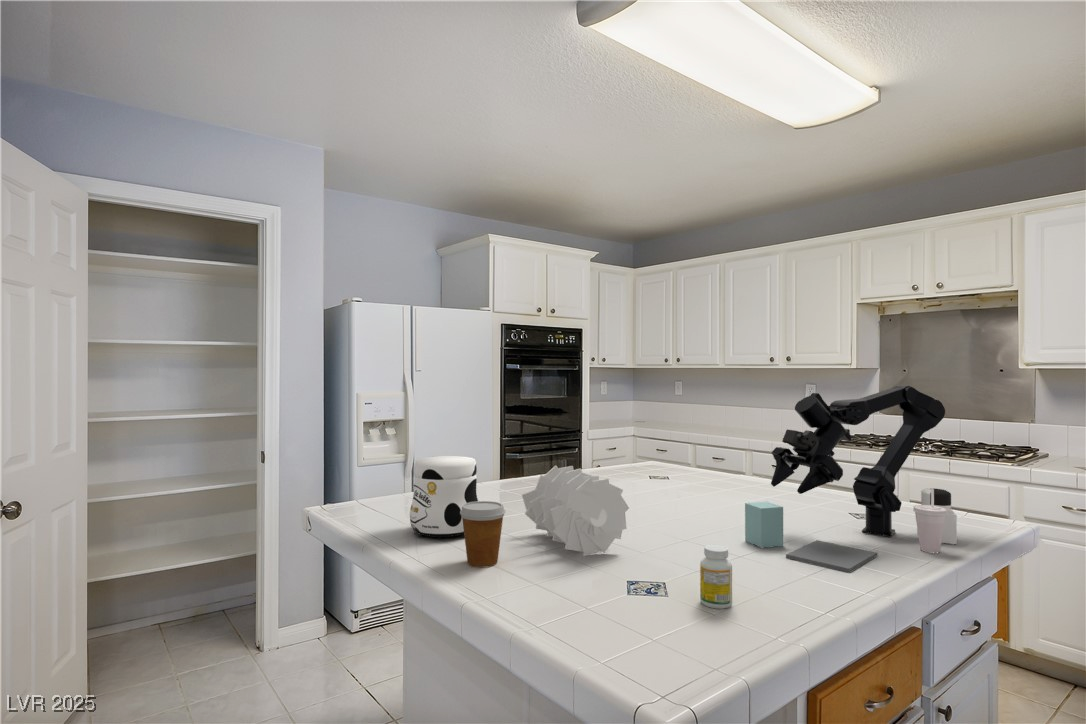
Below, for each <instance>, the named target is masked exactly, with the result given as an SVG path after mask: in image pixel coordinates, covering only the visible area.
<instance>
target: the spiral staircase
mask: <svg viewBox="0 0 1086 724" xmlns="http://www.w3.org/2000/svg"><path fill="white" fill-rule="evenodd" d="M609 479H610V478H604V479H600V476H599V475H591V474H588V473H584V472H583V471H582V468H577V469H574V466H573V465H569V466H564V467H558V466H557V465H554V466H553V467H552V468H551V469H550V470H549V471H548V472H546V474H544V475H542V474H540V475H539V478H538V481H537V483H536V486H535V488H534V489H532V490H529V491H527V492H524V493H522V494H521V497H522V499H523V500H522V501H523V504H524V506H525V510H526V511H525V512H524V515H525V516H527V517H528V518H529V519H530V520H531V521H532V522H533V523H534V524H535V529H536V530H541V531H547V534H546V536H547V537H551V538H552V539H551V540H552V541H554V542H559V543H562V544H565V546H564V549H565V550H570V551H575V552H582V554H583V557H587V556H589V555H591V554H593V553H596V552H597V551H602V552H603V553H606V552H607V551H608V549H609V547H610V546H611V545H612V543H613V542H614V541H615V540H616V539H617V540H621V539H622V533H623V530H627V527H628V526H627V521H626V520H627V518H626V517H627V516H626V512H627V511H628V510H630V507H629V506H628V504H627V502H626V500H625V499H624V497H623V496H622V494H623V492H624V489H622V488H620V487H619V486H616V485H614V484H611V483H610V481H609Z"/></svg>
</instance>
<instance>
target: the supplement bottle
mask: <svg viewBox="0 0 1086 724" xmlns="http://www.w3.org/2000/svg"><path fill="white" fill-rule="evenodd" d="M703 551H704V552H703V553H704V556H705V557H703V558H702V559H701V560H700V563H699V566H700V568H699V569H700V570H699V571H700V578H699V580H700V583H699V585H700V589H699V590H700V594H699V595H700V601H701V604H702V605H704V606H706V607H709V608H712V609H719V610H721V609H722V610H723V609H724V610H725V609H728V608H730V607H731V606H733V605H732V604H733V564H732V562H731V561H730V559H728V557H729V549H728V547H726V546H723V545H720V544H708V545H707V544H706V545H704V549H703Z"/></svg>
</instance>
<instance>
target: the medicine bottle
mask: <svg viewBox="0 0 1086 724" xmlns="http://www.w3.org/2000/svg"><path fill="white" fill-rule="evenodd" d="M931 489H934V506H937V507H942V508H945V509H946V510H947V511H946V513H947V514H946V515H945V519H944V526H943V533H942V541H941V544H944V543H950V544H949V545H954V544H956V545H957V542H958V539H957V538H958V536H957V535H958V531H957V529H958V528H957V526H958V525H957V524H958V523H957V522H958V520H957V519H958V518H957V514H956V513H955V511H953V510H952V494H951V492H950V491H948V490H947V489H946V490H945V489H943V488H932V487H931V488H924V489H922V490H921V491H920V492H921V494H920V496H921V497H920V498H921V501H920V503H921V504H920V505H931ZM916 534H917V535H918V529H917V528H916Z"/></svg>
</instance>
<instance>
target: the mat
mask: <svg viewBox="0 0 1086 724" xmlns="http://www.w3.org/2000/svg"><path fill="white" fill-rule="evenodd" d="M876 557H878V552H877V551H872V550H867V549H862V548H859V547H853V546H847V545H844V544H838V543H832V542H829V541H823V540H819V539H816V540H814V541H812V542H809V543H808V544H806V545H803V546H801V547H799V548H797V549H794V550H792V551H790V552H788V553H786V554H785V558H786V559H789V558H790V559H789V560H793V559H794V561H797V560H799V561H798V562H801V561H802V562H801V563H806V562H807V563H806V564H810V563H811V564H810V565H814V564H815V566H818V565H819V567H824V568H828V569H831V570H837V571H839V572H844V573H848V572H849V573H851V572H853V571H855V570H857V569H858V568H861V567H862V566H864V565H866V564H867V563H868V562H870V561H872V560H873V559H875V558H876Z"/></svg>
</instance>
